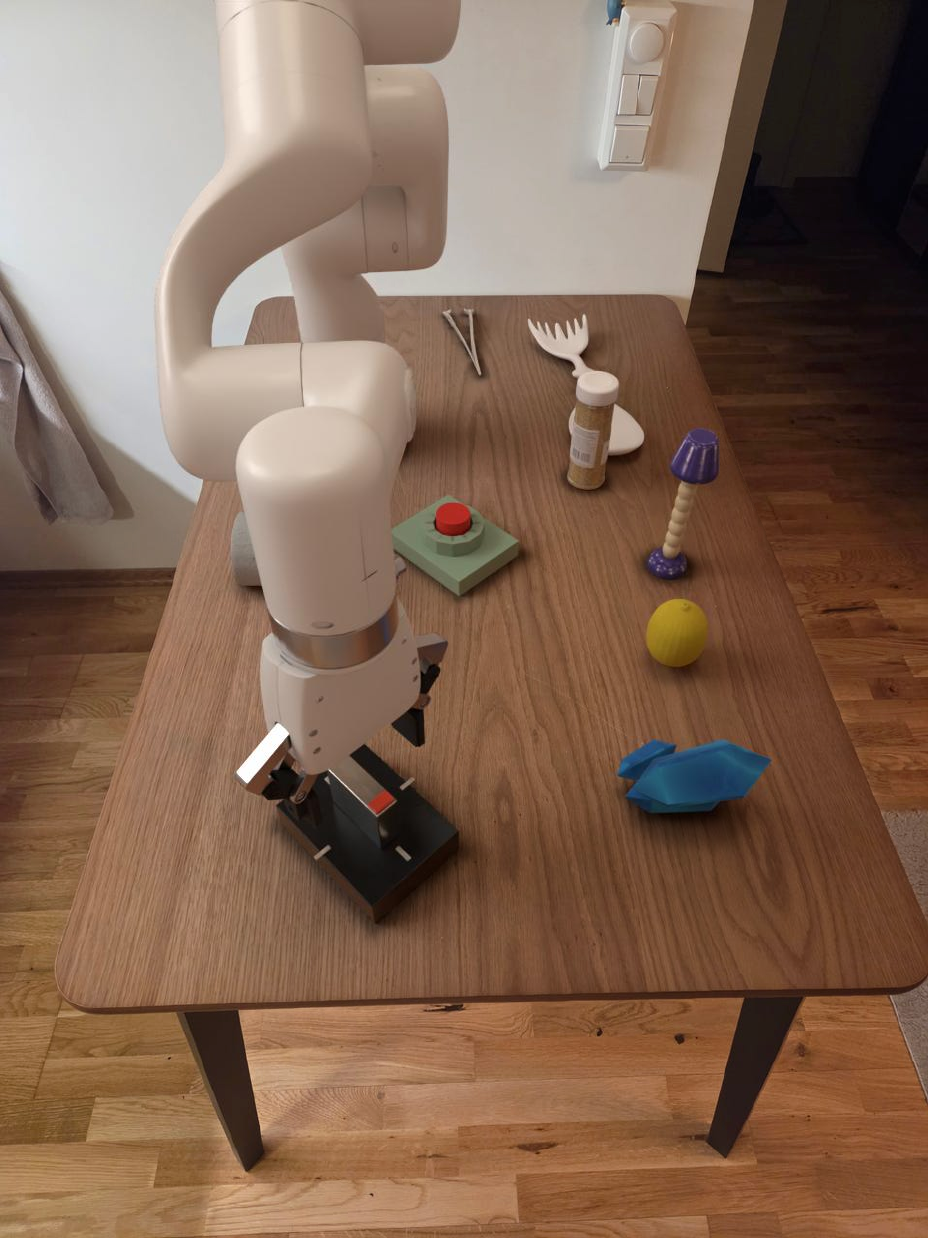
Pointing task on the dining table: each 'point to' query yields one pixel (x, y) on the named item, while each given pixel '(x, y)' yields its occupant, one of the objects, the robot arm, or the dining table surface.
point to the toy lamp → (685, 497)
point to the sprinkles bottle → (592, 429)
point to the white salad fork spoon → (623, 425)
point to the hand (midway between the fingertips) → (359, 772)
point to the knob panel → (357, 859)
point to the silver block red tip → (364, 801)
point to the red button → (453, 519)
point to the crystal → (690, 775)
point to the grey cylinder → (243, 554)
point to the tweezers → (473, 354)
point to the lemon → (677, 633)
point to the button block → (454, 548)
